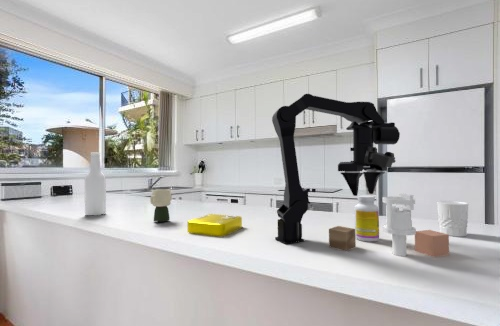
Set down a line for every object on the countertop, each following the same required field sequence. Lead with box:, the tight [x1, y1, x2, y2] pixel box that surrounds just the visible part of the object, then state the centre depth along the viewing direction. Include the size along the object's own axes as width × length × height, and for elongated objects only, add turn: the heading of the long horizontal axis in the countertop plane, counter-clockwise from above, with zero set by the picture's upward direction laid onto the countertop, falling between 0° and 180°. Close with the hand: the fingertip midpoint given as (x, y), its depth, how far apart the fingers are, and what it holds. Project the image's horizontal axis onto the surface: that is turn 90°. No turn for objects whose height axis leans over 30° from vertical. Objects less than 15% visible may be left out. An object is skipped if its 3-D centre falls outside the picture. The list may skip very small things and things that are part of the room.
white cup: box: [436, 200, 469, 238], centre depth 83 cm, size 8×8×10 cm
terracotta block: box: [414, 229, 450, 258], centre depth 66 cm, size 5×5×5 cm
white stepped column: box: [382, 193, 417, 257], centre depth 65 cm, size 7×7×15 cm
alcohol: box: [84, 151, 107, 216], centre depth 127 cm, size 9×9×30 cm
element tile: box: [187, 213, 243, 238], centre depth 93 cm, size 15×15×5 cm
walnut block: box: [328, 225, 357, 252], centre depth 71 cm, size 5×5×5 cm
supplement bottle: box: [354, 195, 380, 243], centre depth 79 cm, size 7×7×13 cm
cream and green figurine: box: [150, 188, 173, 223], centre depth 108 cm, size 11×7×13 cm, turn 152°
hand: (363, 194), depth 81 cm, fingers open, 9 cm apart
